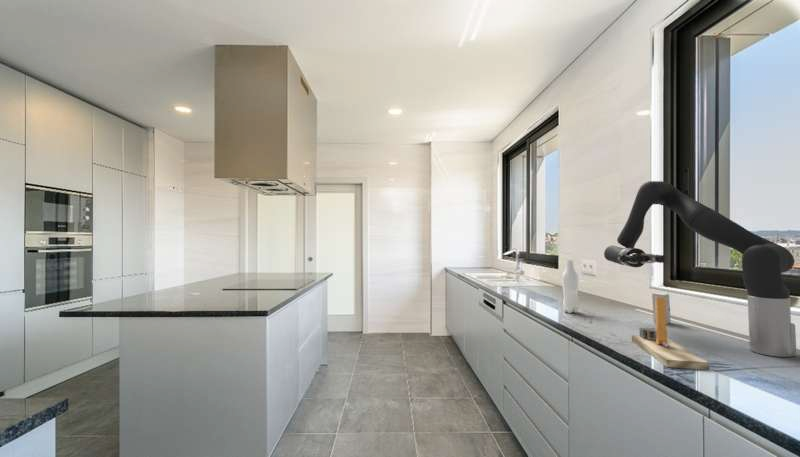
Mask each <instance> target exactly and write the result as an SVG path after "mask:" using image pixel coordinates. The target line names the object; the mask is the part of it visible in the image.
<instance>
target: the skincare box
mask: <svg viewBox="0 0 800 457" xmlns="http://www.w3.org/2000/svg"><path fill="white" fill-rule="evenodd" d="M651 297H652V298H651V299H652V316H653V317H652V318H653V323H654V324H656V319H655V297H665V298H666V323H667V324H671V322H672V320H671V305H670V294H669V293H664V292H656V293H652V295H651Z"/></svg>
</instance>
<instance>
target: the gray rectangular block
mask: <svg viewBox="0 0 800 457" xmlns="http://www.w3.org/2000/svg"><path fill="white" fill-rule="evenodd" d="M654 329H656V327H654V328H649V327H639V336H640V337H641V338H643V339H647V330H654ZM650 337H654V338H656V332H650ZM653 340H655V339H653Z"/></svg>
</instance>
